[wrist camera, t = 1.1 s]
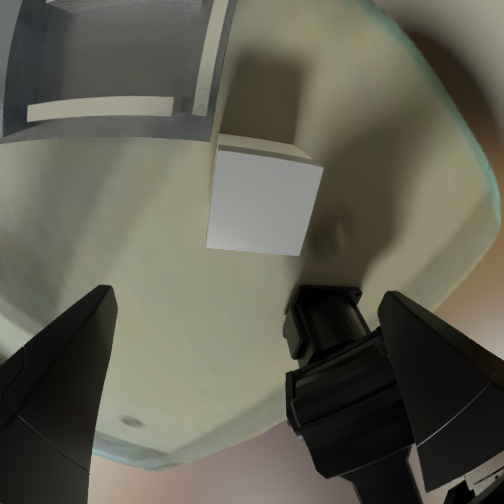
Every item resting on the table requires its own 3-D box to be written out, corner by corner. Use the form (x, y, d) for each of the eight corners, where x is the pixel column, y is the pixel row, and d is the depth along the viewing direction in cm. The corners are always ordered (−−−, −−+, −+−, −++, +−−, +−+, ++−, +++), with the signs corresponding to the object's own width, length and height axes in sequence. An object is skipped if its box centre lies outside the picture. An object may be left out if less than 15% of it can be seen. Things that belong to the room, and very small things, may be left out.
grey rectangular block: (293, 145, 18) (323, 167, 13) (278, 211, 20) (299, 256, 15) (218, 133, 17) (217, 150, 12) (208, 203, 19) (205, 247, 14)
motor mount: (241, -22, 11) (248, -52, 7) (209, 140, 17) (206, 154, 13) (8, 11, 7) (-26, 6, 3) (-8, 143, 13) (-43, 160, 9)
